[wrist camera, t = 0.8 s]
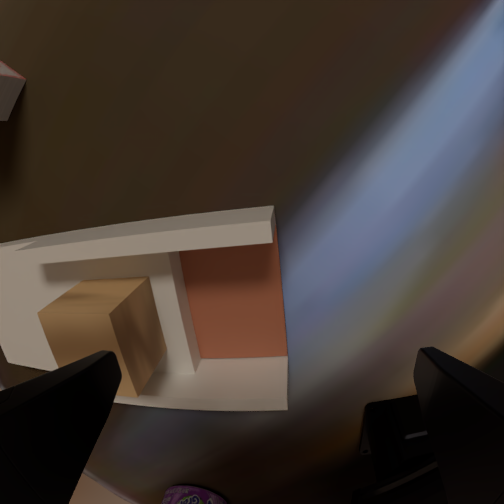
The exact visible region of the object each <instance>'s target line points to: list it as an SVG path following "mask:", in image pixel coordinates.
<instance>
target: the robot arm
mask: <svg viewBox="0 0 504 504" xmlns="http://www.w3.org/2000/svg"><path fill="white" fill-rule="evenodd" d="M121 380H122V372H121V369H120V366H119V363H118V360H117V356H116V354H115V353H114V352H113V351H108V350H101V351H99V352H96V353H94V354H91V355H89V356H87V357H84V358H82V359H80V360H77V361H75V362H72V363H70V364H67V365H65V366H63V367H60V368H58V369H55V370H53V371H50V372H48V373H45V374H43V375H40V376H38V377H35V378H33V379H30V380H28V381H25V382H23V383H20V384H18V385H16V386H13V387H10V388H8V389H5V390H2V391H0V504H69V501H70V499H71V497H72V495H73V492H74V490H75V488H76V486H77V483H78V481H79V479H80V476H81V474H82V472H83V470H84V468H85V465H86V463H87V461H88V459H89V457H90V454H91V452H92V450H93V448H94V446H95V444H96V442H97V439H98V437H99V435H100V433H101V431H102V429H103V427H104V425H105V423H106V420H107V418H108V416H109V413H110V411H111V408H112V405H113V402H114V399H115V396H116V394H117V391H118V388H119V385H120V383H121ZM414 382H415V386H416V390H417V395H413V396H408V397H402V398H397V399H391V400H384V401H378V402H372V403H369V404H367V405H366V407H365V415H364V422H363V429H362V435H361V441H360V447H359V451H360V454H361V455H367V454H371V455H372V460H373V465H374V470H375V475H376V480H377V483H375V484H372V485H370V486H367V487H365V488H362V489H357V490H355V491H353V494H352V500H351V504H504V383H503V382H501V381H499V380H497V379H495V378H493V377H491V376H489V375H487V374H486V373H484V372H482V371H480V370H478V369H476V368H474V367H472V366H470V365H468V364H466V363H464V362H462V361H460V360H458V359H456V358H454V357H452V356H450V355H448V354H446V353H444V352H442V351H440V350H438V349H436V348H434V347H425V348H420V349H419V351H418V354H417V359H416V364H415V368H414ZM371 408H373V409H371Z"/></svg>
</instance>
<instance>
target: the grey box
mask: <svg viewBox="0 0 504 504" xmlns="http://www.w3.org/2000/svg"><path fill="white" fill-rule="evenodd" d="M25 81H26V79H25V78H24V77H22V76H21V75H20V74H18V73H17V72H15V71H14V70H13V69H11V68H10V67H9V66H7V65H6V64H4V63H3V62H2V61H0V121H7V120H8V118H9V116H10V113H11V111H12V109H13V107H14V104H15V102H16V100H17V98H18V96H19V94H20V92H21V90H22V87H23V85H24V83H25Z"/></svg>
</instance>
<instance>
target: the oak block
mask: <svg viewBox="0 0 504 504" xmlns="http://www.w3.org/2000/svg"><path fill="white" fill-rule="evenodd" d="M37 314H38V317H39V320H40V323H41V325H42V328H43V331H44V334H45V336H46V339H47V341H48V344H49V346H50V349H51V351H52V354H53V356H54V358H55V361H56V363H57V365H58V368H60V367H63V366H65V365H67V364H70V363H72V362H75V361H77V360H80V359H82V358H84V357H87V356H89V355H91V354H94V353H96V352H99V351H101V350H108V351H113V352H114V353H115V354H116V356H117V360H118V363H119V366H120V369H121V372H122V380H121V383H120V385H119V388H118V391H117V394H116V395H118V396H126V397H135V398H138V397H139V395H140V394H141V392H142V390H143V389H144V387H145V385H146V383H147V382H148V380H149V378H150V377H151V375H152V373H153V372H154V370H155V368H156V366H157V365H158V363H159V361H160V360H161V358H162V356H163V355H164V353H165V351H166V350H167V347H166V343H165V339H164V336H163V332H162V328H161V324H160V320H159V316H158V312H157V308H156V304H155V300H154V296H153V291H152V287H151V283H150V278H149V276H144V277H128V278H111V279H94V280H83V281H81V282H80V283H78V284H77V285H75V286H74V287H73V288H71V289H70V290H68V291H67V292H65V293H64V294H63V295H61V296H60V297H58V298H57V299H55V300H54V301H53V302H51V303H50V304H48V305H47V306H46V307H44V308H43V309H42V310H40V311H39V312H37Z"/></svg>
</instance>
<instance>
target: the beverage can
mask: <svg viewBox="0 0 504 504" xmlns="http://www.w3.org/2000/svg"><path fill="white" fill-rule="evenodd" d="M162 504H227V502H226V501H225V500H224V499H223V498H222V497H220V496H218V495H217V494H215V493H213V492H211V491H209V490H207V489H204V488H201V487H197V486H188V485H187V486H172V487H170V488H168V489H167V490H166V492H165V495H164V498H163V501H162Z"/></svg>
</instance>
